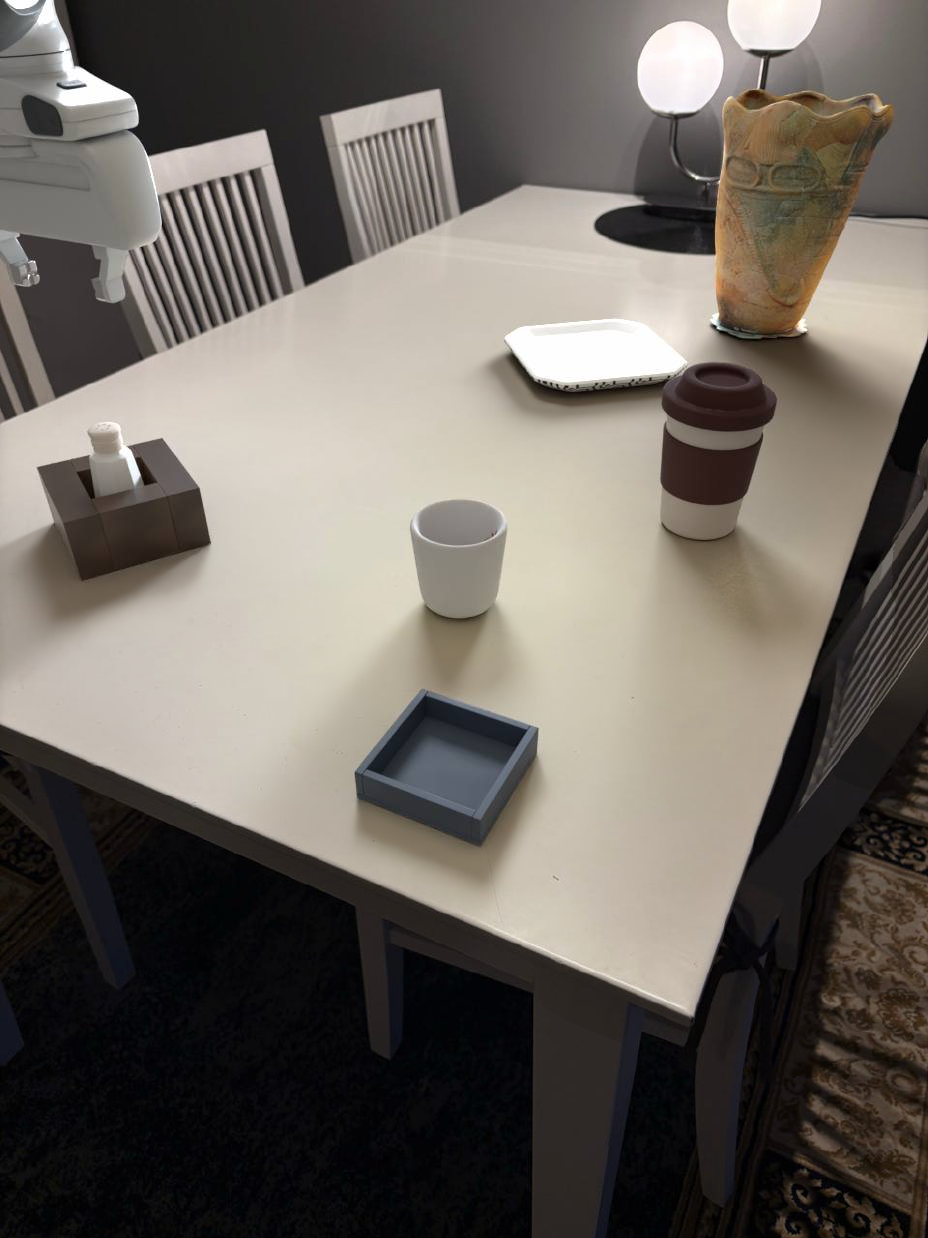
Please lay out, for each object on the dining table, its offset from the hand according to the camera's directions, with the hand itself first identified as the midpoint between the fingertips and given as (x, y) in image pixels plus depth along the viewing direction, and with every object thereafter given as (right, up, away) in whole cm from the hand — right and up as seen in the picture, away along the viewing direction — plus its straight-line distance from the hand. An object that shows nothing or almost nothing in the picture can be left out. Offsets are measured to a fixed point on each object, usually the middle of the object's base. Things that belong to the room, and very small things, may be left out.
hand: (68, 291), depth 74 cm
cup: (+32, -24, +6) cm, 41 cm away
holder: (0, -18, +14) cm, 23 cm away
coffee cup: (+55, -17, +15) cm, 60 cm away
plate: (+49, +7, +47) cm, 69 cm away
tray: (+31, -37, -12) cm, 50 cm away
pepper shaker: (0, -18, +14) cm, 23 cm away
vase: (+77, +16, +59) cm, 98 cm away
